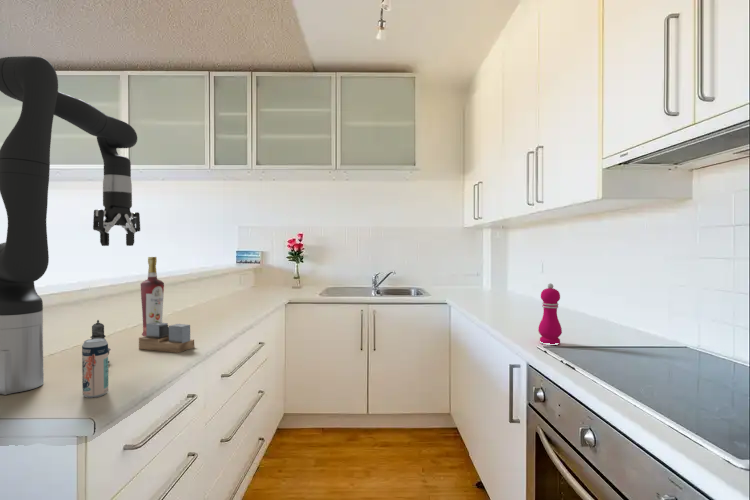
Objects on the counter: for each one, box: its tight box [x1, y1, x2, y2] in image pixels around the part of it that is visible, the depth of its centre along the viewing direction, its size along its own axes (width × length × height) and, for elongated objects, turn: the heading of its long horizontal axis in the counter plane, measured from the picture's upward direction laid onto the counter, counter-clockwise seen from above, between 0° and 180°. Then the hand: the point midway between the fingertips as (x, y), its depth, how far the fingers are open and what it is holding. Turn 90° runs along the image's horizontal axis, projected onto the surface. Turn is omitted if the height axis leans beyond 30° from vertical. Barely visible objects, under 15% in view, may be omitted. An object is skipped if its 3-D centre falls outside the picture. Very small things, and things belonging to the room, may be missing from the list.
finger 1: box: [146, 322, 169, 339], centre depth 140 cm, size 4×6×5 cm, turn 72°
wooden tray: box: [138, 335, 195, 354], centre depth 139 cm, size 7×15×4 cm, turn 72°
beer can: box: [81, 338, 109, 399], centre depth 97 cm, size 5×5×12 cm
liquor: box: [140, 256, 165, 337], centre depth 155 cm, size 7×7×28 cm
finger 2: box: [168, 323, 191, 343], centre depth 138 cm, size 4×6×5 cm, turn 72°
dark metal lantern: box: [90, 319, 111, 364], centre depth 122 cm, size 6×6×12 cm
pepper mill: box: [537, 283, 563, 344], centre depth 147 cm, size 7×7×20 cm
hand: (117, 245), depth 133 cm, fingers open, 8 cm apart
